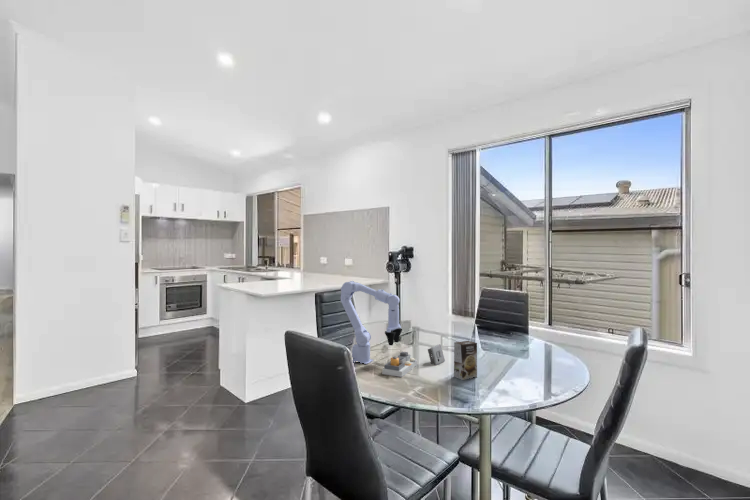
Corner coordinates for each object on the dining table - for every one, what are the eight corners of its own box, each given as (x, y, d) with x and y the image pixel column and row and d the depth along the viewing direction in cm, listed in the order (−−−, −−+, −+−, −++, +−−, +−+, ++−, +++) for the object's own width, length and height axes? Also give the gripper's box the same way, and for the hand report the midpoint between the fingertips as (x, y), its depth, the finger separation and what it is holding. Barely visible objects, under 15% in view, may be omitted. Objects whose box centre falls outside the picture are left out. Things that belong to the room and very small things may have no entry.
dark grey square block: (395, 363, 184) (395, 358, 184) (397, 361, 187) (397, 356, 187) (401, 364, 183) (401, 359, 183) (403, 362, 186) (403, 357, 186)
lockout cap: (389, 368, 177) (389, 357, 177) (392, 365, 181) (392, 355, 181) (397, 369, 175) (397, 358, 175) (399, 366, 179) (400, 356, 179)
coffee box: (462, 380, 167) (462, 344, 167) (453, 376, 172) (453, 342, 173) (477, 377, 171) (477, 342, 171) (468, 373, 177) (468, 340, 177)
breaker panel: (382, 374, 176) (382, 363, 176) (399, 362, 196) (399, 353, 196) (401, 376, 172) (401, 366, 172) (417, 364, 191) (417, 355, 192)
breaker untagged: (400, 357, 190) (400, 352, 190) (402, 356, 193) (402, 351, 193) (405, 358, 189) (405, 353, 189) (407, 356, 192) (407, 352, 192)
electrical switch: (436, 365, 190) (435, 347, 191) (428, 364, 193) (426, 347, 194) (445, 361, 197) (443, 344, 198) (436, 361, 200) (435, 343, 201)
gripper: (395, 320, 186) (395, 347, 186) (405, 316, 199) (405, 341, 199) (382, 319, 189) (382, 346, 189) (393, 315, 202) (393, 340, 202)
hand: (393, 343), depth 194 cm, fingers open, 7 cm apart
